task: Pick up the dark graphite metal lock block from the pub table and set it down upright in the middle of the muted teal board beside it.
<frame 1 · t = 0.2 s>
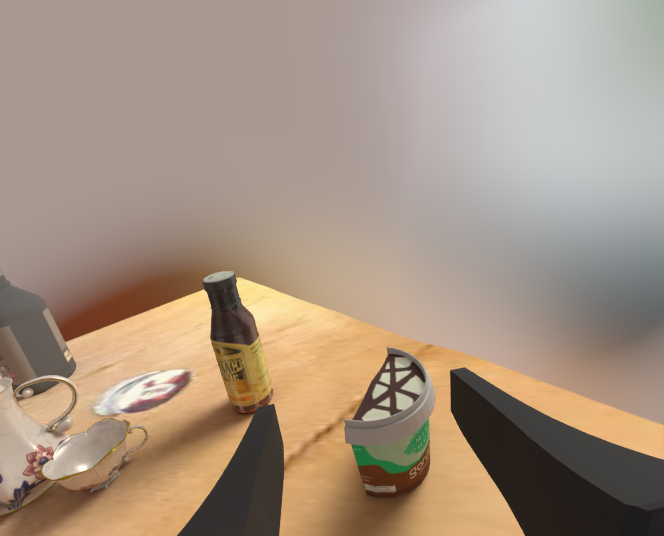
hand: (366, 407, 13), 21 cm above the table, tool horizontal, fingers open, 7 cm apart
liquor: (47, 382, 66), on the table
sauce bottle: (255, 402, 48), on the table
chinaware: (23, 503, 38), on the table
food container: (410, 464, 34), on the table
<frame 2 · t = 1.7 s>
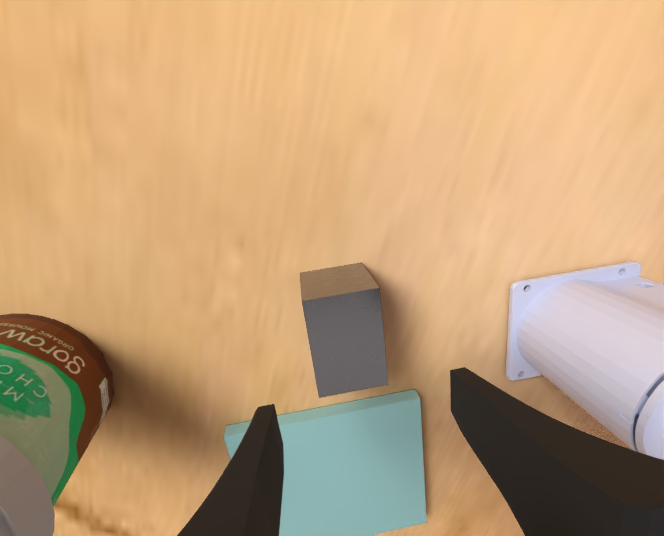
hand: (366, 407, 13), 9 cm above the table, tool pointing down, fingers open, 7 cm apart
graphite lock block: (336, 309, 21), on the table
food container: (48, 343, 20), on the table
teal board: (334, 472, 26), on the table
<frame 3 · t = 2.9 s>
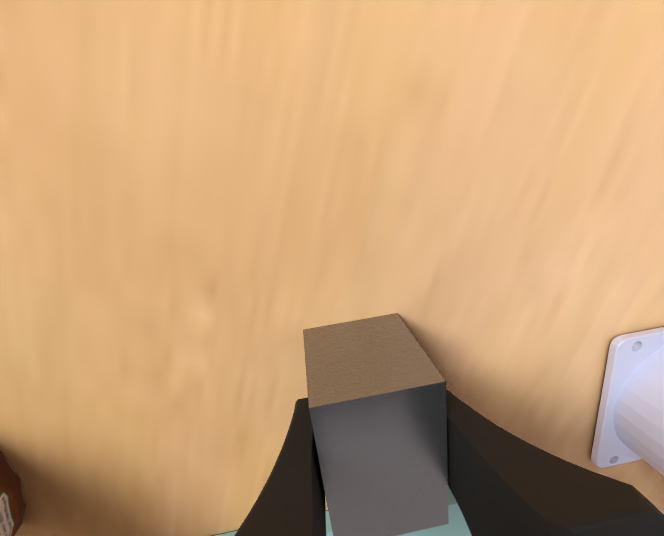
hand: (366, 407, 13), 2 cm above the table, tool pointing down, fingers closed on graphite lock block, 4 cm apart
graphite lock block: (358, 381, 14), on the table, touching gripper
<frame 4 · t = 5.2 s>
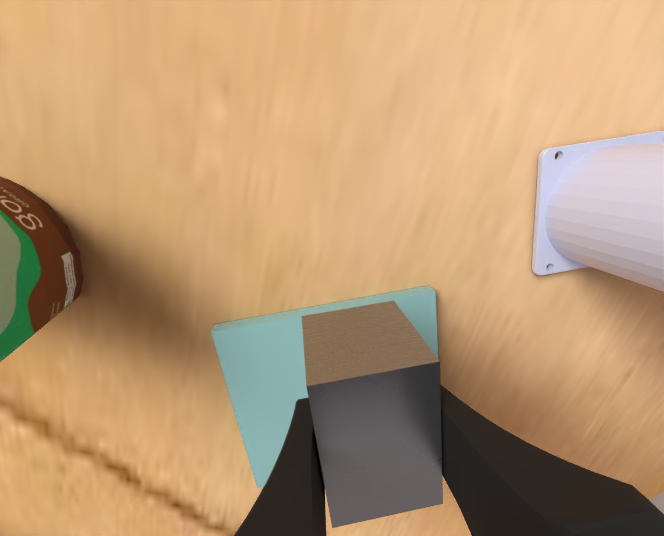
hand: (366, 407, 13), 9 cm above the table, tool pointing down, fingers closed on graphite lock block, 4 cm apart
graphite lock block: (355, 367, 15), point 7 cm above the table, touching gripper
food container: (3, 212, 17), on the table
teal board: (337, 387, 23), on the table
when the fingers open (4 cm above the table, at t = 7.3 s): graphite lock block stays where it is, resting on teal board.
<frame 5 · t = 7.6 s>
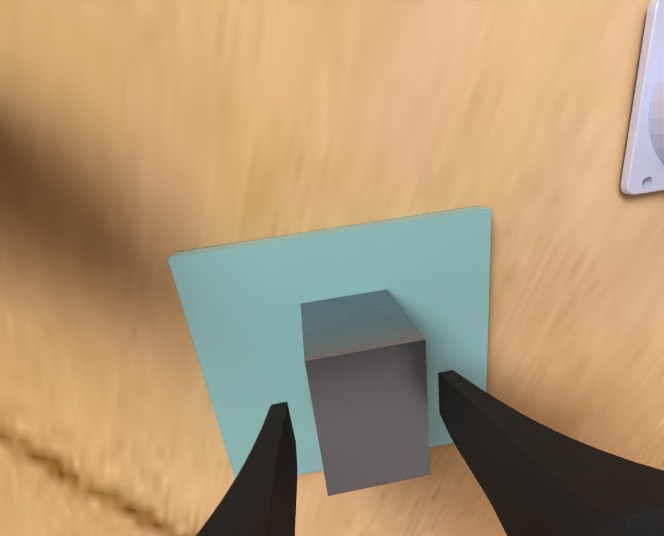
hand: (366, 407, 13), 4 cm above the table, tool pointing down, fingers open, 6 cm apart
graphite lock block: (350, 352, 16), point 1 cm above the table, touching teal board
teal board: (348, 350, 17), on the table
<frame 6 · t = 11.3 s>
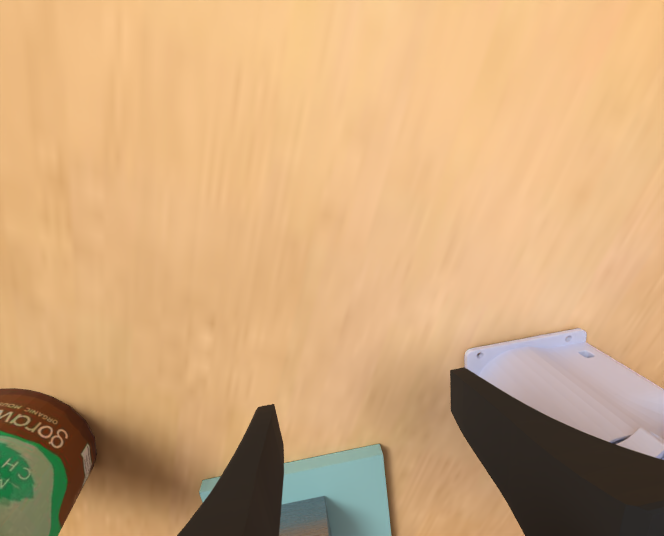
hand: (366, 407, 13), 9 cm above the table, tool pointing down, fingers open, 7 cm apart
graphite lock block: (305, 526, 26), point 1 cm above the table, touching teal board
food container: (35, 412, 22), on the table
teal board: (305, 518, 27), on the table
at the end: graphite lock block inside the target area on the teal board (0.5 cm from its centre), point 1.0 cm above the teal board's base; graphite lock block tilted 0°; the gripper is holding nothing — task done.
